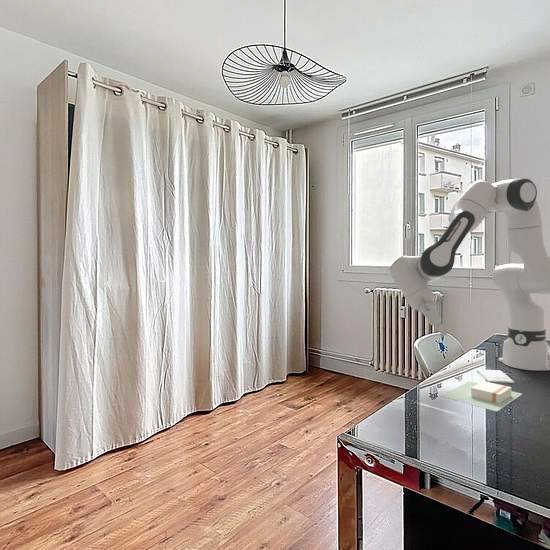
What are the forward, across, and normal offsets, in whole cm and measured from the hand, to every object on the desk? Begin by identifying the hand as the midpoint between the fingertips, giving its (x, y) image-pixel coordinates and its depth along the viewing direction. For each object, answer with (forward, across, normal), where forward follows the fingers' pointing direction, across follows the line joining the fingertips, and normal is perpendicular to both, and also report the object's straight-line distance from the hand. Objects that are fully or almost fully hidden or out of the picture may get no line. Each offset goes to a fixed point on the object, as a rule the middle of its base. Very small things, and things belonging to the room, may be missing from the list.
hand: (445, 335), depth 131 cm
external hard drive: (+22, +14, -6) cm, 26 cm away
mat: (+20, -7, +1) cm, 21 cm away
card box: (+18, -6, +1) cm, 19 cm away
